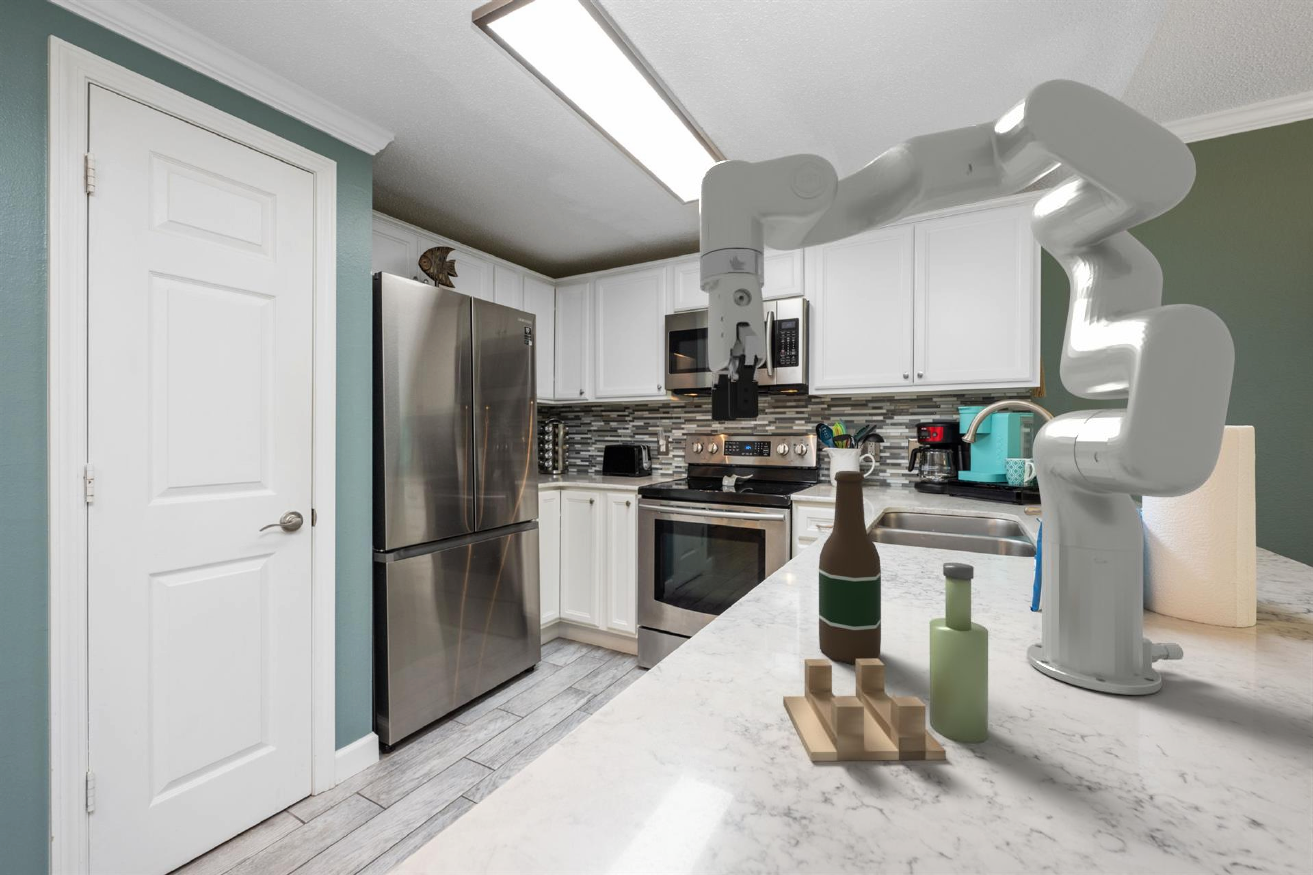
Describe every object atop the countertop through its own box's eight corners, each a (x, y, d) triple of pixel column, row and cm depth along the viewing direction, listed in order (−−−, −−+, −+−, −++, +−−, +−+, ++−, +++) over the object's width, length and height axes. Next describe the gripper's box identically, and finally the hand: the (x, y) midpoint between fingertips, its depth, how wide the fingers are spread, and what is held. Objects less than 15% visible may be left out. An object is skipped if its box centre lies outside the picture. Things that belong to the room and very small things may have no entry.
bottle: (968, 714, 55) (968, 559, 55) (1000, 742, 50) (1000, 572, 50) (920, 715, 55) (920, 559, 55) (947, 743, 50) (947, 572, 50)
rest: (894, 702, 58) (894, 658, 57) (945, 759, 48) (945, 705, 47) (783, 703, 57) (783, 659, 57) (811, 760, 47) (811, 706, 47)
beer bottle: (887, 668, 66) (887, 474, 66) (821, 663, 67) (821, 473, 67) (875, 644, 74) (874, 469, 73) (816, 639, 75) (815, 469, 75)
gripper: (787, 250, 55) (788, 416, 55) (744, 294, 72) (745, 421, 72) (715, 249, 54) (716, 417, 54) (689, 293, 72) (690, 421, 72)
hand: (733, 419), depth 63 cm, fingers open, 9 cm apart
